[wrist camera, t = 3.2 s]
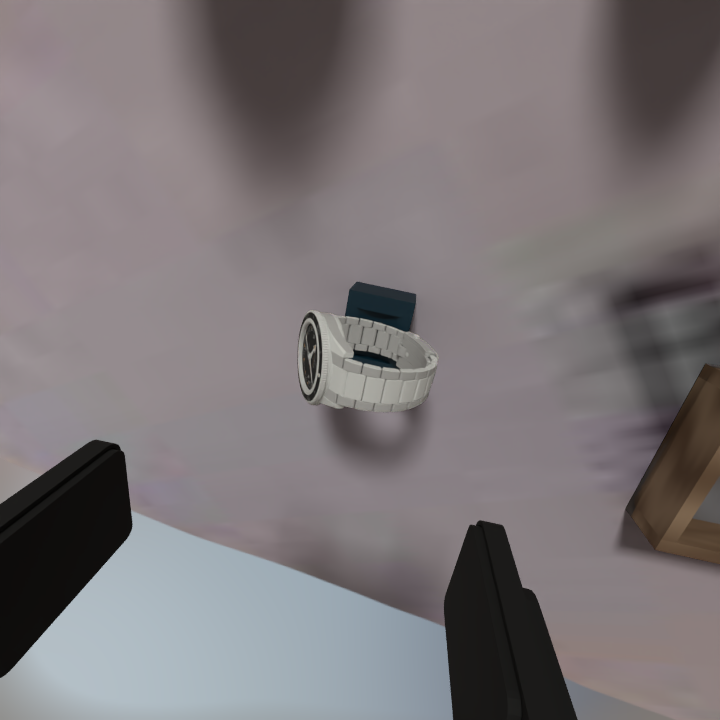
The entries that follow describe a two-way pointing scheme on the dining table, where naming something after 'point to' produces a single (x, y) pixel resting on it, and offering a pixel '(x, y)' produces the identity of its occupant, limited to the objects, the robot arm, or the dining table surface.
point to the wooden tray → (686, 479)
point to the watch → (366, 354)
